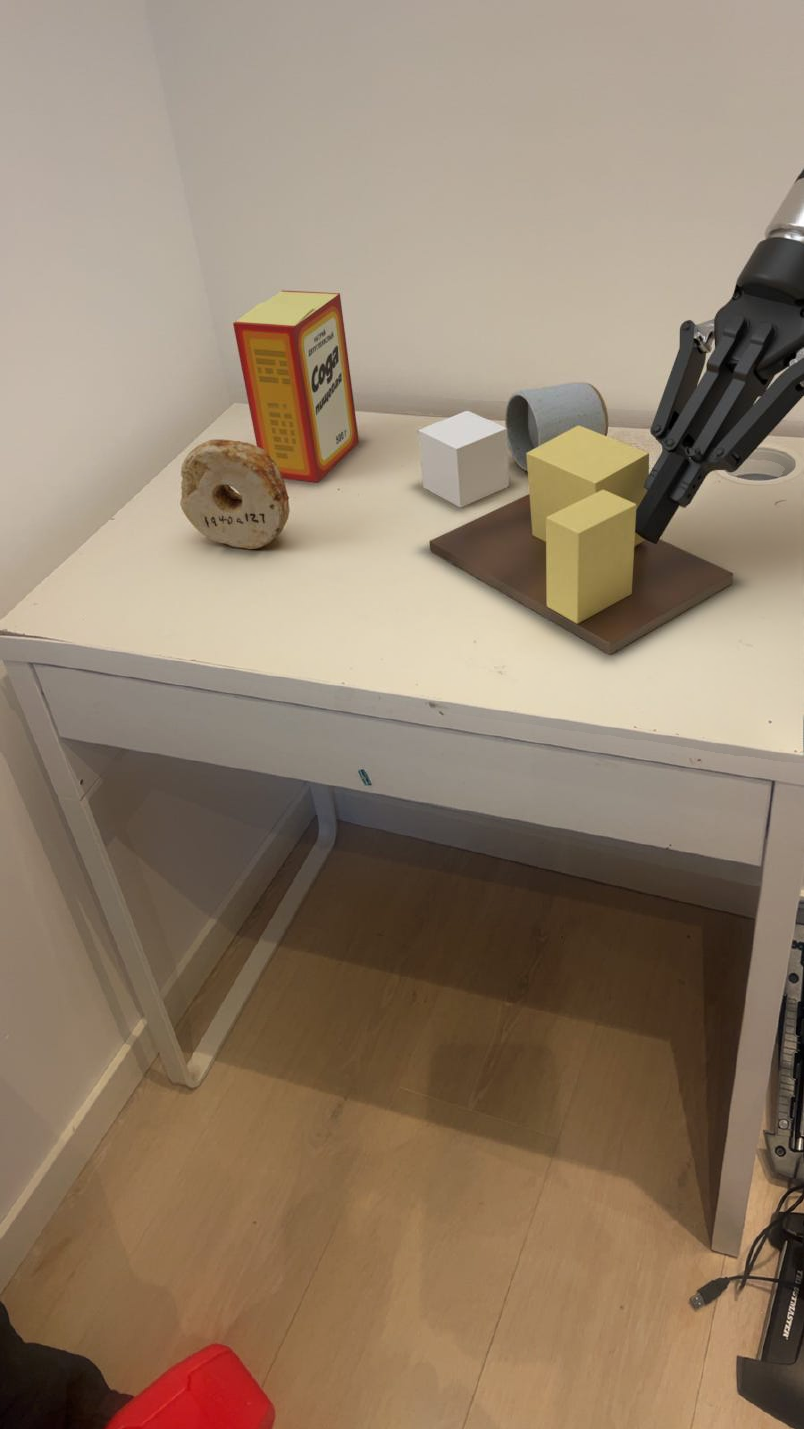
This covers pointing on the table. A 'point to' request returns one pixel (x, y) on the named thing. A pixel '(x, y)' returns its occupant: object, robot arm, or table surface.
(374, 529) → the table surface
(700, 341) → the robot arm
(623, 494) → the butter block
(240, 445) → the stone disc
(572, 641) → the table surface
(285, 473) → the baking soda box
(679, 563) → the butter board
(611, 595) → the block
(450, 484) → the white cube
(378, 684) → the table surface
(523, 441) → the ceramic mug
